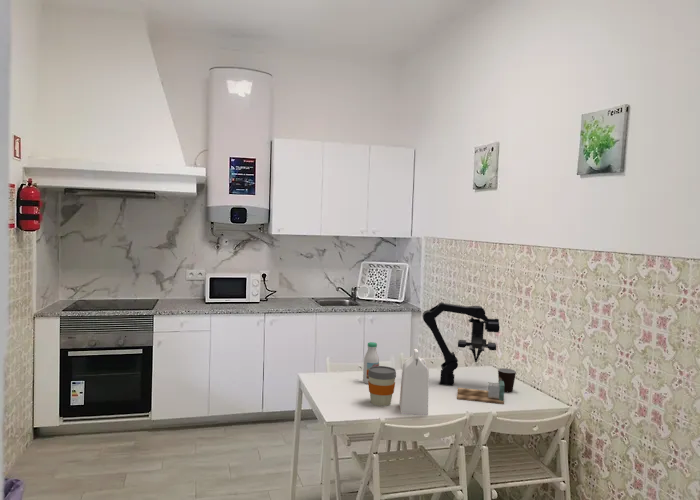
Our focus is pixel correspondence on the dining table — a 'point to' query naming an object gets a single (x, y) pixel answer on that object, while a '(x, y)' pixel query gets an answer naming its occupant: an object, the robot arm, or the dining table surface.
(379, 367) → the reusable coffee cup
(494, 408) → the dining table surface
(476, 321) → the robot arm
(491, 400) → the rail board
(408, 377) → the milk
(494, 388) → the metal slider block
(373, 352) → the milk bottle
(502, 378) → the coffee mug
